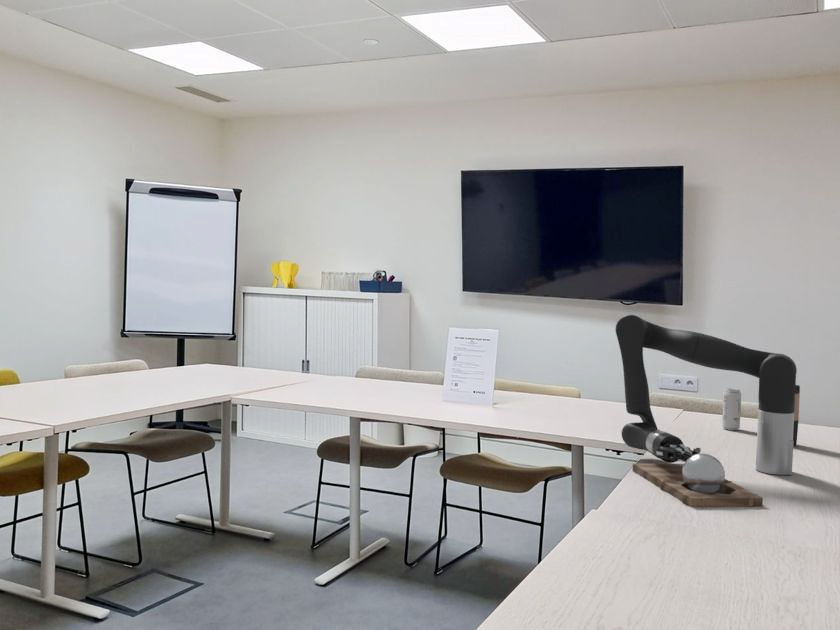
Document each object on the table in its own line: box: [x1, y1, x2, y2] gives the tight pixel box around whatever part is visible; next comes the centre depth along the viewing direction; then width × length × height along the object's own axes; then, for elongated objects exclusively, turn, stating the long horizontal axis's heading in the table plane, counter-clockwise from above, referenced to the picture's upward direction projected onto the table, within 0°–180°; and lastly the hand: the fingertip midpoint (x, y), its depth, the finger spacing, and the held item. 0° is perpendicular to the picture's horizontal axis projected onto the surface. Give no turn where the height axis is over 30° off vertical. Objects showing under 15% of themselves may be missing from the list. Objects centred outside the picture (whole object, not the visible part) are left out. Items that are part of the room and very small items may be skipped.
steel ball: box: [682, 452, 726, 494], centre depth 191 cm, size 10×10×10 cm
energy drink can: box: [721, 387, 742, 431], centre depth 281 cm, size 6×6×15 cm
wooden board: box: [632, 463, 764, 508], centre depth 197 cm, size 34×19×2 cm, turn 7°
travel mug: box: [793, 384, 801, 447], centre depth 256 cm, size 8×8×20 cm
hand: (694, 460), depth 197 cm, fingers closed
